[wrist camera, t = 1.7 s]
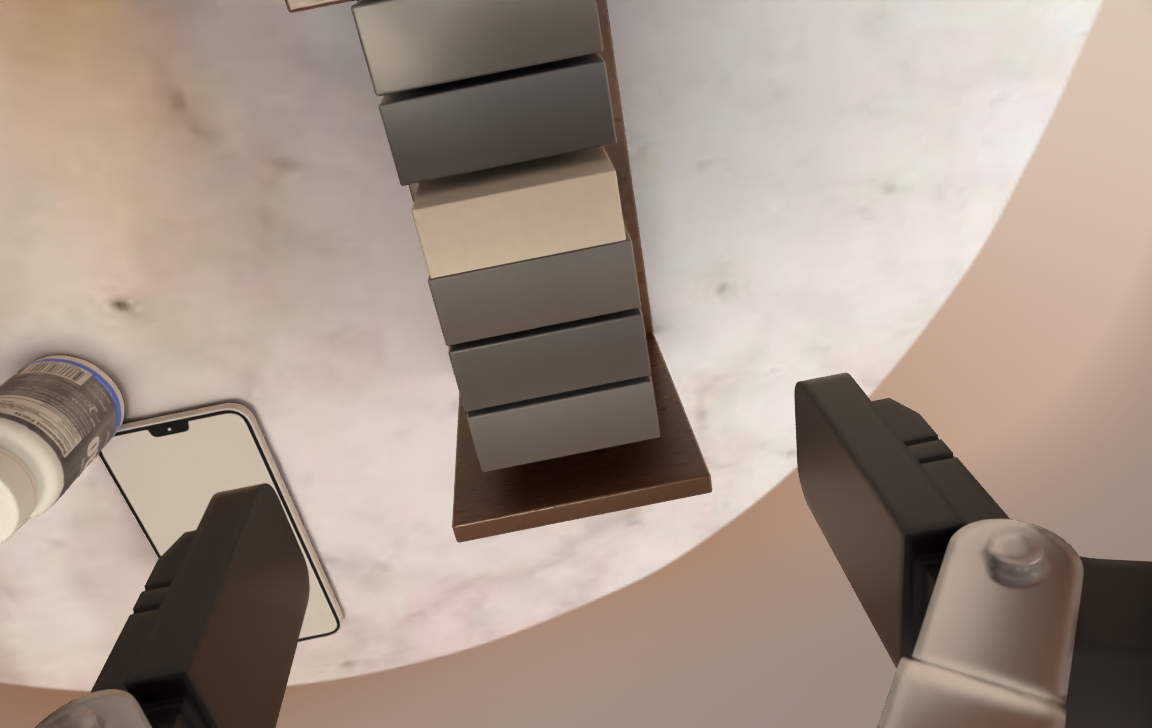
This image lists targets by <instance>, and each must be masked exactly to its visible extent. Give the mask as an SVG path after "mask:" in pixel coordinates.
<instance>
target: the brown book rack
mask: <svg viewBox="0 0 1152 728" xmlns="http://www.w3.org/2000/svg"><path fill="white" fill-rule="evenodd" d="M349 1H354V0H285V2H286V5H287V9H288V11H289V12H291V13H294V12H299V11H304V10H309V9H314V8H319V7H324V6H329V5H334V4H339V3H344V2H349ZM357 1H358V2H357V3H356V4H354V5H353V6H352V7H351V10H352V14H353V17H354V21H355V24H356V28H357V31H358V35H359V38H360V42H361V46H362V49H363V53H364V56H365V60H366V63H367V67H368V70H369V74H370V77H371V81H372V84H373V88H374V92H375V94H376V96H383V95H384V97H383V99H382V101H381V103H380V105H379V109H380V113H381V116H382V120H383V124H384V127H385V131H386V134H387V138H388V141H389V145H390V148H391V152H392V155H393V159H394V162H395V166H396V170H397V173H398V177H399V180H400V184H401V185H402V186H405V185H409V188H410V191H411V195H412V199H413V202H414V200H415V196H416V192H417V188H418V184H419V183H420V182H425V181H430V180H435V179H440V178H445V177H450V176H455V175H460V174H466V173H471V172H476V171H481V170H486V169H491V168H496V167H501V166H506V165H511V164H516V163H521V162H526V161H531V160H536V159H541V158H546V157H551V156H556V155H561V154H566V153H571V152H576V151H581V150H587V149H592V148H597V147H602V146H603V147H604V149H605V151H606V153H607V155H608V157H609V159H610V161H611V163H612V165H613V167H614V169H615V171H616V176H617V183H618V189H619V196H620V203H621V209H622V216H623V223H624V229H625V236H626V239H625V240H623V241H618V242H613V243H607V244H602V245H597V246H592V247H587V248H582V249H577V250H572V251H567V252H562V253H557V254H552V255H547V256H542V257H537V258H532V259H527V260H522V261H517V262H512V263H507V264H502V265H497V266H492V267H487V268H482V269H476V270H471V271H466V272H461V273H456V274H451V275H446V276H441V277H436V278H431V277H430V275H429V279H428V283H429V286H430V290H431V293H432V297H433V301H434V304H435V308H436V311H437V315H438V318H439V322H440V325H441V329H442V332H443V336H444V339H445V343H446V345H447V346H449V357H450V360H451V364H452V368H453V371H454V375H455V378H456V382H457V385H458V389H459V409H458V428H457V446H456V465H455V483H454V502H453V520H452V528H453V531H454V534H455V537H456V540H457V542H464V541H469V540H474V539H479V538H484V537H489V536H494V535H499V534H504V533H509V532H514V531H519V530H524V529H529V528H534V527H540V526H545V525H550V524H555V523H560V522H565V521H570V520H575V519H580V518H585V517H590V516H595V515H600V514H605V513H610V512H615V511H620V510H625V509H630V508H635V507H640V506H645V505H650V504H655V503H660V502H665V501H670V500H675V499H680V498H685V497H690V496H695V495H700V494H705V493H710V492H712V484H711V475H710V473H709V470H708V468H707V465H706V463H705V460H704V458H703V455H702V453H701V450H700V448H699V445H698V443H697V440H696V438H695V435H694V433H693V430H692V428H691V425H690V423H689V420H688V418H687V415H686V413H685V410H684V408H683V405H682V403H681V400H680V398H679V395H678V393H677V390H676V388H675V385H674V383H673V380H672V378H671V376H670V373H669V371H668V368H667V366H666V363H665V361H664V358H663V356H662V353H661V351H660V348H659V346H658V343H657V341H656V338H655V336H654V333H653V326H652V319H651V312H650V305H649V298H648V291H647V284H646V277H645V270H644V263H643V255H642V248H641V241H640V234H639V227H638V220H637V213H636V206H635V199H634V192H633V185H632V178H631V171H630V164H629V157H628V150H627V143H626V136H625V129H624V122H623V115H622V108H621V101H620V94H619V86H618V79H617V72H616V65H615V58H614V51H613V44H612V37H611V30H610V23H609V16H608V9H607V2H606V0H357Z"/></svg>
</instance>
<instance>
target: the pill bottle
mask: <svg viewBox="0 0 1152 728" xmlns="http://www.w3.org/2000/svg"><path fill="white" fill-rule="evenodd" d="M123 419H124V402H123V398H122V395H121V393H120V391H119V389H118V388H117V386H116V385H115V383H114V382H113V381H112V380H111V379H110V378H109V376H108V375H106V374H105V373H104V372H103V371H102V370H100V369H99V368H98V367H96V366H95V365H93V364H91V363H89V362H88V361H85V360H82V359H78V358H75V357H71V356H62V355H55V356H48V357H44V358H41V359H38V360H35V361H33V362H31V363H30V364H28V365H27V366H25V367H24V368H23V369H21V370H20V371H19V372H17V373H16V374H15V375H14V376H12V377H11V378H10V379H8V380H7V381H6V382H5V383H3V384H2V385H1V386H0V544H1V543H3V542H4V541H6V540H7V539H8V538H10V537H11V536H12V535H13V534H14V533H15V532H16V531H17V530H18V529H19V528H20V527H21V526H22V525H23V524H25V523H26V522H27V521H28V520H29V519H32V518H34V517H36V516H38V515H40V514H42V513H43V512H45V511H46V510H48V509H49V508H50V507H52V506H53V505H54V504H55V503H56V502H57V501H58V499H59V498H60V497H61V496H62V495H63V493H64V492H65V491H66V490H67V489H68V488H69V487H70V485H71V484H72V483H73V482H74V481H75V479H76V478H77V477H78V476H79V475H80V474H81V473H82V472H83V471H84V469H85V468H86V467H87V466H88V465H89V464H90V463H91V462H92V461H93V460H94V458H95V457H96V456H97V455H98V454H99V452H100V451H101V450H102V449H103V448H104V447H105V446H106V444H107V443H108V442H109V441H110V440H111V439H112V438H113V437H114V435H115V434H116V433H117V431H118V430H119V428H120V427H121V425H122V423H123Z"/></svg>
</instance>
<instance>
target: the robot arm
mask: <svg viewBox="0 0 1152 728" xmlns="http://www.w3.org/2000/svg"><path fill="white" fill-rule="evenodd" d="M795 418H796V441H797V463H798V472H799V478H800V483H801V487H802V490H803V493H804V496H805V499H806V502H807V504H808V506H809V508H810V510H811V512H812V513H813V515H814V517H815V519H816V521H817V523H818V524H819V526H820V528H821V530H822V532H823V534H824V536H825V537H826V539H827V541H828V543H829V545H830V547H831V548H832V550H833V552H834V554H835V556H836V558H837V559H838V561H839V563H840V565H841V567H842V569H843V571H844V573H845V574H846V576H847V578H848V580H849V582H850V583H851V585H852V587H853V589H854V591H855V593H856V595H857V597H858V598H859V600H860V602H861V604H862V606H863V608H864V609H865V611H866V613H867V615H868V617H869V619H870V620H871V622H872V624H873V626H874V628H875V630H876V632H877V633H878V635H879V637H880V639H881V641H882V643H883V644H884V646H885V648H886V650H887V652H888V653H889V656H890V657H891V659H892V661H893V663H894V664H895V667H896V668H897V669H896V672H895V675H894V678H893V681H892V684H891V687H890V690H889V693H888V696H887V699H886V702H885V705H884V708H883V711H882V714H881V717H880V720H879V723H878V726H877V728H1152V562H1147V561H1127V560H1107V559H1094V558H1086V557H1081V556H1079V555H1078V554H1077V552H1076V551H1075V550H1074V549H1073V548H1072V546H1071V545H1070V544H1068V543H1067V542H1066V541H1065V540H1064V539H1062V538H1061V537H1059V536H1058V535H1056V534H1055V533H1053V532H1051V531H1049V530H1047V529H1045V528H1042V527H1040V526H1037V525H1034V524H1031V523H1027V522H1023V521H1018V520H1012V519H1010V518H1009V517H1008V516H1007V515H1006V514H1005V512H1004V511H1003V510H1002V509H1001V508H1000V507H999V506H998V504H997V503H996V502H995V501H994V500H993V499H992V497H991V496H990V495H989V494H988V493H987V492H986V490H985V489H984V488H983V487H982V486H981V485H980V484H979V483H978V481H977V480H976V479H975V478H974V477H973V475H972V474H971V473H970V472H969V471H968V470H967V468H966V467H965V466H964V465H963V464H962V463H961V462H960V460H959V459H958V458H954V456H953V452H952V451H951V450H950V449H949V448H948V447H947V445H946V444H945V443H944V442H943V441H942V440H939V439H938V435H937V434H936V433H935V432H934V430H933V429H932V428H931V427H930V426H929V425H928V423H927V422H926V421H925V420H924V419H923V418H922V416H921V415H920V414H918V413H917V412H915V411H913V410H911V409H909V408H907V407H905V406H904V405H901V404H900V403H898V402H896V401H894V400H892V399H890V398H887V399H882V400H876V401H872V402H871V401H870V399H869V398H868V397H867V395H866V394H865V393H864V392H863V390H862V389H861V388H860V387H859V385H858V384H857V383H856V381H855V380H854V379H853V378H852V377H851V375H850V374H848V373H841V374H836V375H831V376H826V377H821V378H815V379H810V380H805V381H800V382H797V383H796V386H795ZM309 593H310V582H309V573H308V568H307V564H306V561H305V558H304V555H303V553H302V551H301V549H300V546H299V544H298V542H297V539H296V537H295V535H294V532H293V530H292V528H291V525H290V523H289V521H288V519H287V516H286V514H285V512H284V509H283V507H282V505H281V502H280V500H279V498H278V496H277V493H276V492H275V490H274V488H273V487H272V486H271V485H269V484H267V483H263V484H258V485H253V486H248V487H243V488H237V489H232V490H227V491H222V492H217V493H215V494H214V495H213V496H212V498H211V500H210V502H209V504H208V506H207V508H206V510H205V512H204V514H203V517H202V519H201V521H200V523H199V525H198V527H197V529H196V530H194V531H189V532H185V533H184V534H183V535H182V536H181V537H180V538H179V539H178V540H177V541H176V542H175V543H174V544H173V545H172V546H171V547H170V548H169V549H168V550H167V551H166V552H165V553H164V554H163V555H162V556H161V557H160V558H159V559H158V561H157V563H156V565H155V567H154V569H153V571H152V573H151V575H150V577H149V579H148V581H147V583H146V585H145V591H144V592H142V593H141V594H140V596H139V598H138V600H137V602H136V604H135V606H134V608H133V610H134V614H132V615H130V616H129V618H128V620H127V622H126V624H125V626H124V628H123V630H122V632H121V634H120V636H119V638H118V639H117V641H116V643H115V645H114V647H113V649H112V651H111V653H110V655H109V657H108V659H107V661H106V663H105V665H104V667H103V669H102V671H101V673H100V675H99V677H98V679H97V681H96V683H95V685H94V686H93V688H92V690H91V693H89V694H86V695H84V696H81V697H79V698H77V699H75V700H72V701H71V702H69V703H67V704H65V705H63V706H62V707H60V708H59V709H57V710H56V711H54V712H53V713H51V714H50V715H49V716H48V717H46V718H45V719H44V720H43V721H41V722H40V723H39V724H38V725H37V726H36V727H35V728H275V727H276V723H277V719H278V716H279V712H280V708H281V704H282V700H283V697H284V693H285V689H286V685H287V681H288V677H289V674H290V670H291V666H292V662H293V658H294V654H295V651H296V647H297V643H298V639H299V635H300V632H301V628H302V624H303V620H304V616H305V612H306V609H307V605H308V600H309Z"/></svg>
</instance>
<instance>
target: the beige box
mask: <svg viewBox="0 0 1152 728" xmlns="http://www.w3.org/2000/svg"><path fill="white" fill-rule="evenodd" d="M412 215H413V218H414V222H415V225H416V229H417V233H418V236H419V240H420V243H421V247H422V250H423V254H424V257H425V261H426V265H427V268H428V272H429V275H430V277H431V278H436V277H441V276H446V275H451V274H456V273H461V272H466V271H471V270H476V269H482V268H487V267H492V266H497V265H502V264H507V263H512V262H517V261H522V260H527V259H532V258H537V257H542V256H547V255H552V254H557V253H562V252H567V251H572V250H577V249H582V248H587V247H592V246H597V245H602V244H607V243H613V242H618V241H623V240H625V239H626V236H625V229H624V223H623V216H622V209H621V203H620V196H619V189H618V183H617V176H616V171H615V169H614V167H613V165H612V163H611V161H610V159H609V157H608V155H607V153H606V151H605V149H604V147H603V146H602V147H597V148H592V149H587V150H581V151H576V152H571V153H566V154H561V155H556V156H551V157H546V158H541V159H536V160H531V161H526V162H521V163H516V164H511V165H506V166H501V167H496V168H491V169H486V170H481V171H476V172H471V173H466V174H460V175H455V176H450V177H445V178H440V179H435V180H430V181H425V182H420V183H419V184H418V188H417V192H416V196H415V200H414V204H413V208H412Z"/></svg>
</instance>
